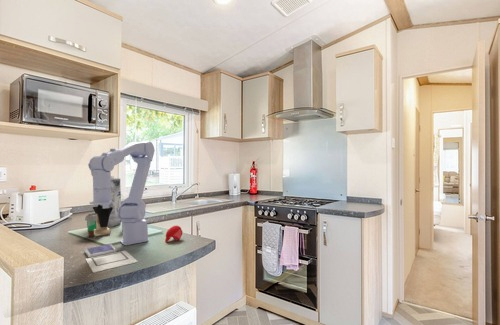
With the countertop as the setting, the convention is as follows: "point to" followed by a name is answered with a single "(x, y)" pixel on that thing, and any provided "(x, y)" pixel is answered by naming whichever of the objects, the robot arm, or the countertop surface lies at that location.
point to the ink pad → (100, 250)
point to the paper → (110, 261)
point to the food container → (91, 224)
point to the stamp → (100, 230)
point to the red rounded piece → (174, 233)
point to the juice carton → (115, 202)
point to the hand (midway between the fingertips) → (103, 226)
